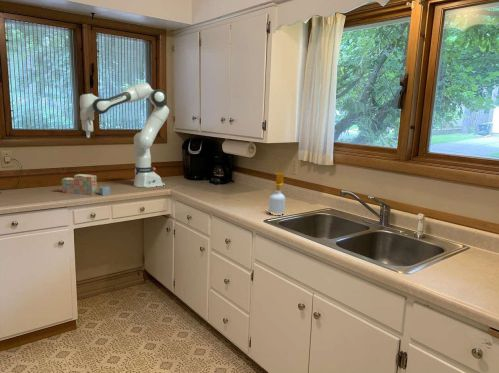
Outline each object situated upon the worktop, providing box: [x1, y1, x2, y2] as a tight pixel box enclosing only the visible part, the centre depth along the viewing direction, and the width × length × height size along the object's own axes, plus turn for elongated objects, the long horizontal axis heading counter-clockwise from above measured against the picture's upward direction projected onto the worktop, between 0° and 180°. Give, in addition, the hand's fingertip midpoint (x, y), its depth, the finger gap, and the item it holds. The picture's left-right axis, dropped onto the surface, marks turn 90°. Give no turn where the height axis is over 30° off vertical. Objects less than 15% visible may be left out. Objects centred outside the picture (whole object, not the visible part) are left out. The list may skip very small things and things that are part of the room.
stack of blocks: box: [61, 173, 98, 196], centre depth 256 cm, size 21×6×12 cm, turn 80°
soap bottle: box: [268, 172, 286, 213], centre depth 224 cm, size 9×9×25 cm
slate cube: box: [98, 185, 111, 196], centre depth 256 cm, size 5×5×5 cm
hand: (88, 137), depth 270 cm, fingers closed
